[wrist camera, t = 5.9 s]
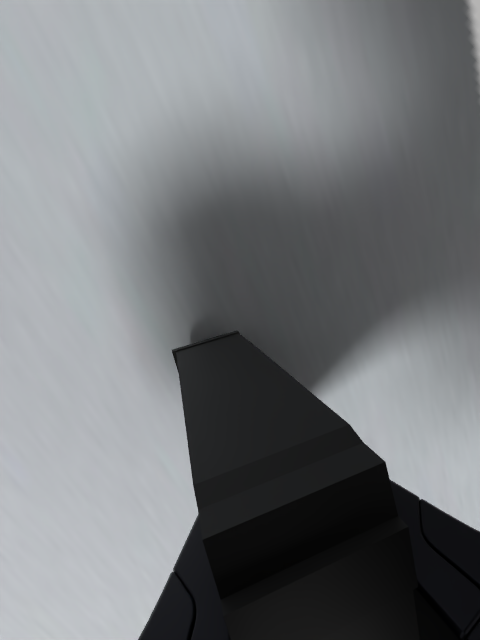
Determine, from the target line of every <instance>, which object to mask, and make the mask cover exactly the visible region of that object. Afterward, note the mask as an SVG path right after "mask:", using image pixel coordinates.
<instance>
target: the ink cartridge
mask: <svg viewBox="0 0 480 640" xmlns="http://www.w3.org/2000/svg"><path fill="white" fill-rule="evenodd" d="M172 353H173V356H174V359H175V363H176V366H177V369H178V373H179V378H180V386H181V394H182V401H183V409H184V417H185V425H186V432H187V440H188V448H189V455H190V463H191V471H192V478H193V486H194V491H195V496H196V501H197V507H198V512H199V520H200V527H201V534H202V540H203V544H204V547H205V550H206V554H207V557H208V560H209V564H210V567H211V570H212V573H213V577H214V580H215V583H216V587H217V590H218V593H219V596H220V600H221V606H222V611H223V617H224V620H225V623H226V626H227V629H228V632H229V635H230V638H231V640H420V636H419V628H418V621H417V614H416V607H415V600H414V592H413V590H414V589H416V588H417V587H418V582H417V576H416V570H415V564H414V558H413V552H412V546H411V540H410V533H409V527H408V526H407V525H406V524H405V523H404V521H403V520H402V519H401V518H400V517H399V516H398V513H397V509H396V505H395V500H394V496H393V492H392V488H391V484H390V480H389V475H388V471H387V467H386V463H385V461H384V460H383V459H381V458H380V457H379V456H378V455H377V454H376V453H375V452H374V451H372V450H371V449H370V448H369V447H368V446H367V445H366V444H364V443H363V441H362V440H361V439H360V438H359V436H358V435H357V434H356V432H355V431H354V430H353V428H352V427H351V426H350V425H349V424H348V423H347V422H346V421H345V420H343V419H342V418H341V417H340V416H339V415H337V414H336V413H335V412H334V411H333V410H331V409H330V408H329V407H328V406H327V405H325V404H324V403H323V402H322V401H321V400H319V399H318V398H317V397H316V396H314V395H313V394H312V393H311V392H310V391H308V390H307V389H306V388H305V387H304V386H302V385H301V384H300V383H299V382H298V381H296V380H295V379H294V378H293V377H292V376H290V375H289V374H288V373H287V372H286V371H284V370H283V369H282V368H281V367H279V366H278V365H277V364H276V363H275V362H273V361H272V360H271V359H270V358H269V357H267V356H266V355H265V354H264V353H263V352H261V351H260V350H259V349H258V348H257V347H255V346H254V345H253V344H252V343H250V342H249V341H248V340H247V339H246V338H244V337H243V336H242V335H241V334H240V333H239V332H238V331H234V332H231V333H227V334H224V335H221V336H217V337H214V338H211V339H207V340H204V341H200V342H197V343H194V344H190V345H187V346H184V347H180V348H177V349H174V350H172Z"/></svg>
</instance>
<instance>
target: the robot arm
mask: <svg viewBox="0 0 480 640" xmlns="http://www.w3.org/2000/svg"><path fill="white" fill-rule="evenodd" d="M389 480H390V479H389ZM390 484H391V488H392V492H393V496H394V500H395V505H396V509H397V513H398V516H399V517H400V518H401V519H402V520H403V521H404V523H405V524H406V525H407V526H408V527H409V533H410V540H411V546H412V552H413V558H414V564H415V570H416V576H417V582H418V587H417V588H416V589H414V590H413V592H414V600H415V607H416V614H417V621H418V628H419V636H420V640H480V532H479V531H477V530H476V529H474V528H472V527H470V526H468V525H466V524H464V523H463V522H461V521H459V520H457V519H456V518H454V517H452V516H450V515H449V514H447V513H445V512H443V511H442V510H440V509H438V508H437V507H435V506H433V505H432V504H430V503H428V502H427V501H425V500H423V499H421V500H420V499H419V497H418V496H416V495H415V494H413V493H411V492H410V491H408V490H406V489H405V488H403V487H401V486H400V485H398V484H396V483H395V482H393V481H391V480H390ZM173 571H174V572H172V573H171V574H170V576H169V579H168V581H167V583H166V585H165V587H164V589H163V592H162V594H161V596H160V598H159V600H158V602H157V604H156V606H155V608H154V610H153V612H152V614H151V616H150V618H149V620H148V622H147V624H146V626H145V628H144V630H143V631H142V633H141V635H140V637H139V639H138V640H231V638H230V635H229V632H228V629H227V626H226V623H225V620H224V617H223V611H222V606H221V600H220V596H219V593H218V590H217V587H216V583H215V580H214V577H213V573H212V570H211V567H210V564H209V560H208V557H207V554H206V550H205V547H204V544H203V540H202V534H201V527H200V520H199V514H198V516H197V518H196V520H195V523H194V525H193V527H192V529H191V531H190V533H189V536H188V538H187V540H186V542H185V544H184V546H183V549H182V551H181V553H180V555H179V557H178V560H177V562H176V564H175V566H174V568H173Z"/></svg>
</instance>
